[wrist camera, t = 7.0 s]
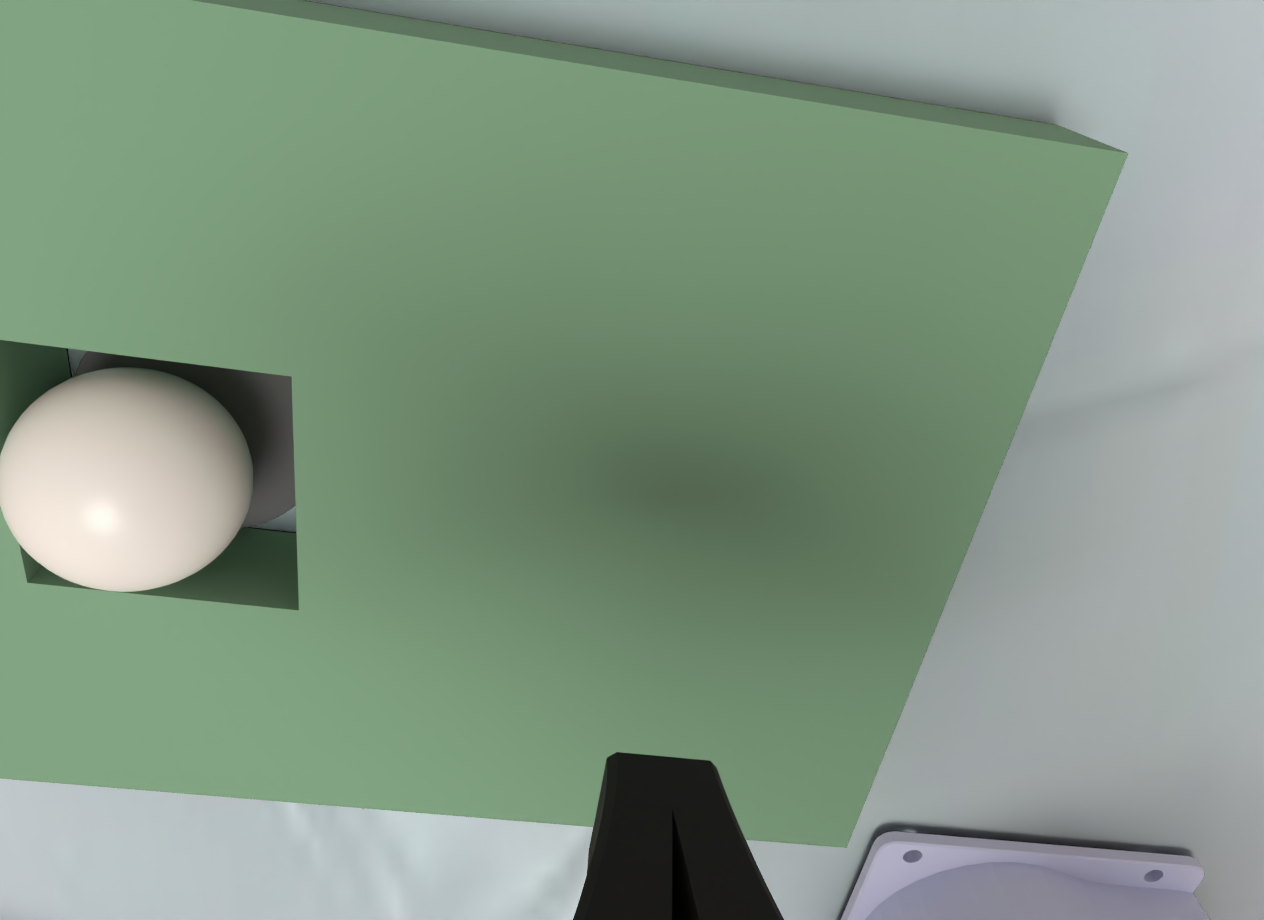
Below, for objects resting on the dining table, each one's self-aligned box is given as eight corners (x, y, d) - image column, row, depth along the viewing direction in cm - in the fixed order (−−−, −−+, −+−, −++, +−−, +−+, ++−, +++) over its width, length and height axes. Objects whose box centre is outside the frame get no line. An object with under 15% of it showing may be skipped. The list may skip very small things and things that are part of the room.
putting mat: (1056, 125, 16) (1127, 152, 14) (824, 764, 24) (846, 847, 21) (-170, -79, 14) (-312, -82, 12) (14, 691, 22) (-52, 774, 20)
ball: (266, 341, 17) (215, 443, 14) (276, 513, 19) (234, 641, 16) (36, 323, 17) (-79, 428, 13) (70, 506, 19) (-21, 638, 15)
